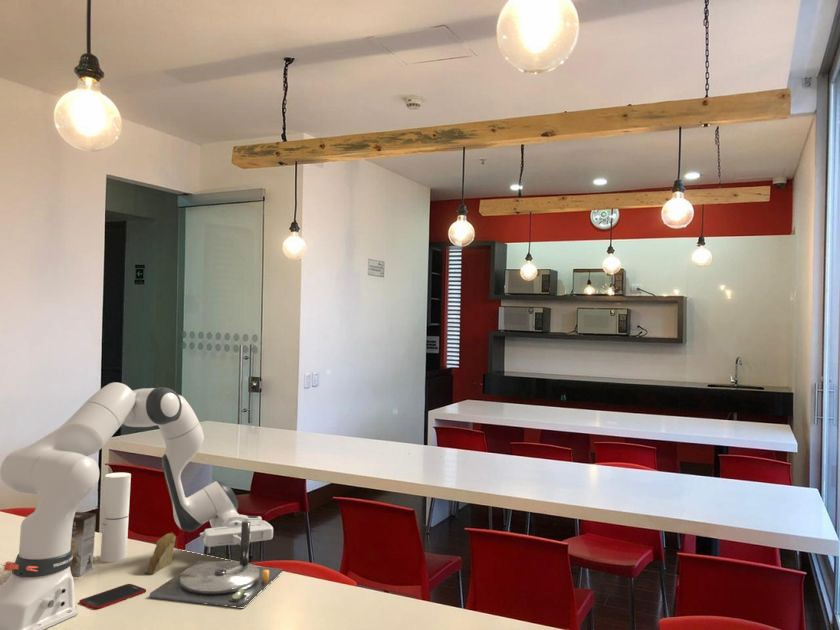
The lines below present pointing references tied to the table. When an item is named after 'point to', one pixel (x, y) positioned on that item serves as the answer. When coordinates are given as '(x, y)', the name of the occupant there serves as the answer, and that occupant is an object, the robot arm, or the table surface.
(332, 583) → the table surface
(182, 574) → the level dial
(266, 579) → the level mark
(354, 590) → the table surface
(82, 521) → the coffee box
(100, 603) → the cell phone
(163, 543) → the rock
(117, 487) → the cylindrical container
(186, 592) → the grey square base plate
